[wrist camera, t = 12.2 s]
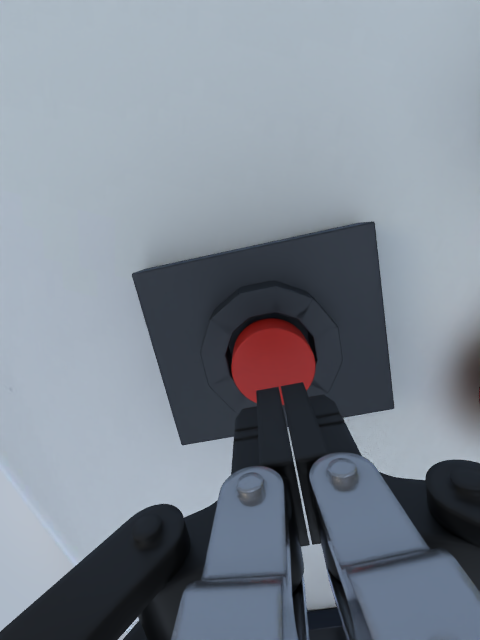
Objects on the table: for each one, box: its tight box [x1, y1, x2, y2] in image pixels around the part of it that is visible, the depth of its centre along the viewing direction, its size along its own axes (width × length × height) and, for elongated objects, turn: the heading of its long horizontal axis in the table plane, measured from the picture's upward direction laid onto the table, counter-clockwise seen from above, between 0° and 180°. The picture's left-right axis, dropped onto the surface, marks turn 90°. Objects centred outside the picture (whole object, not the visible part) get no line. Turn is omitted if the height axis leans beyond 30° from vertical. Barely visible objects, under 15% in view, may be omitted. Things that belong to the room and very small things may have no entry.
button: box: [231, 318, 316, 405], centre depth 15 cm, size 4×4×2 cm
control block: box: [132, 222, 394, 445], centre depth 17 cm, size 12×10×4 cm
